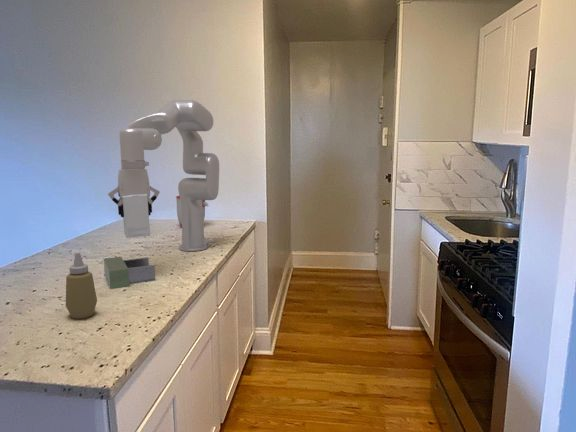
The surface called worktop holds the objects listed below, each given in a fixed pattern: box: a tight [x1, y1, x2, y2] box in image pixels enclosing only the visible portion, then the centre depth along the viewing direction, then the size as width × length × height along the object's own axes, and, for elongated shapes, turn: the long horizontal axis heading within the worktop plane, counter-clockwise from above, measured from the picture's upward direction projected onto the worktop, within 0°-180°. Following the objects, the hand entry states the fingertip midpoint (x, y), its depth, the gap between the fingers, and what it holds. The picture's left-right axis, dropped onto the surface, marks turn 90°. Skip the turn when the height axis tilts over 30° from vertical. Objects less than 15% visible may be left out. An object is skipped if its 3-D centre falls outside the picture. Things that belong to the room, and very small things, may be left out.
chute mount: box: [103, 256, 156, 290], centre depth 157 cm, size 15×17×6 cm
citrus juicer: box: [175, 195, 209, 228], centre depth 244 cm, size 16×17×20 cm
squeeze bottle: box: [65, 252, 98, 320], centre depth 124 cm, size 8×8×18 cm
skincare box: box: [122, 194, 151, 239], centre depth 155 cm, size 8×6×15 cm
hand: (135, 215), depth 155 cm, fingers closed on skincare box, 8 cm apart
